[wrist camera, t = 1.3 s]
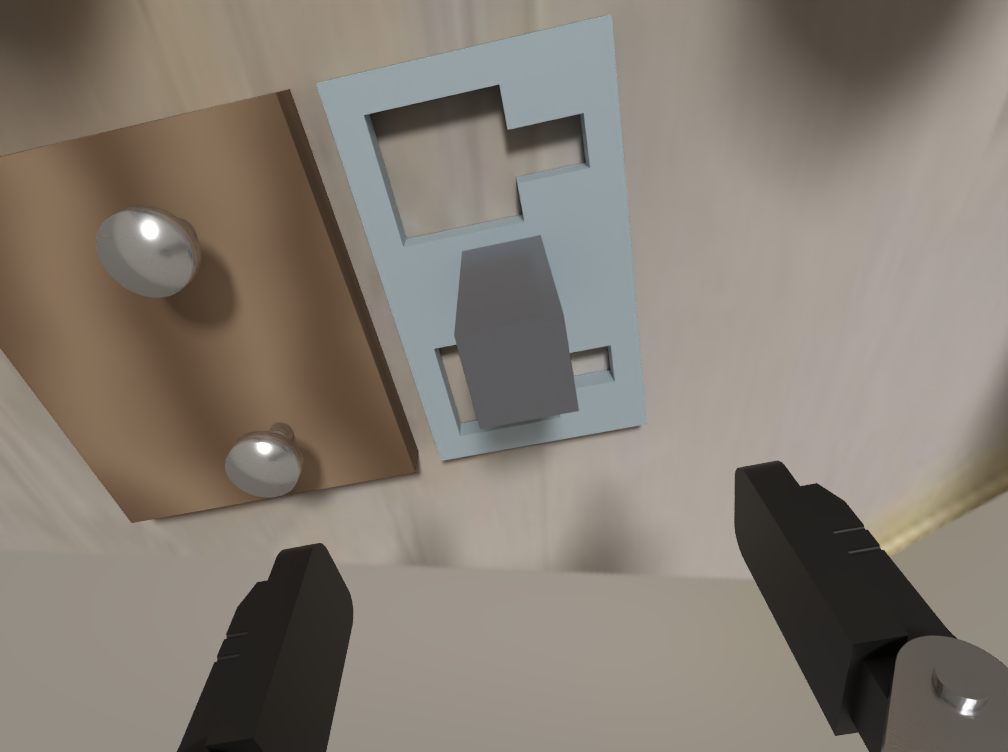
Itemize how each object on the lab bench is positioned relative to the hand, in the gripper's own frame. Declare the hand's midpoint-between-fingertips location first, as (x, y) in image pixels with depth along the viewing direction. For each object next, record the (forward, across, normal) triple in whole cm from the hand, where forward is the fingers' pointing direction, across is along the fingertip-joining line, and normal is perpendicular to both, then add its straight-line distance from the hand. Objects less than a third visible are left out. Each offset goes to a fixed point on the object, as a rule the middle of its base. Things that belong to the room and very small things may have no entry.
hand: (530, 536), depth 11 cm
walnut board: (+14, +13, 0) cm, 19 cm away
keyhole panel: (+14, 0, 0) cm, 14 cm away
